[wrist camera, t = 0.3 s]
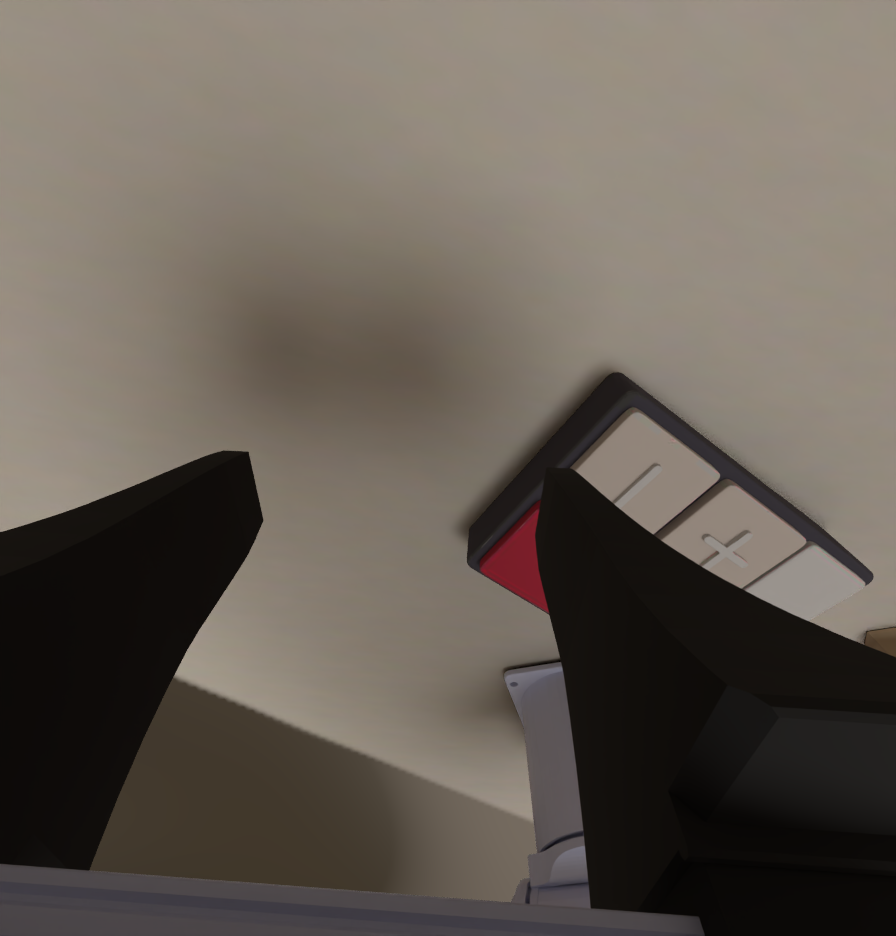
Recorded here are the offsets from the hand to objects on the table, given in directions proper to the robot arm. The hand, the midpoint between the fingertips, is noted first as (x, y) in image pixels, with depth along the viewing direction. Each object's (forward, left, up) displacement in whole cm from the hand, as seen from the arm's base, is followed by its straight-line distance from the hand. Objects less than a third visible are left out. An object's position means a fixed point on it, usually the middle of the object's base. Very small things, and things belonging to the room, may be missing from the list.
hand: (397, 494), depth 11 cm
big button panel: (-11, -8, -10) cm, 17 cm away
